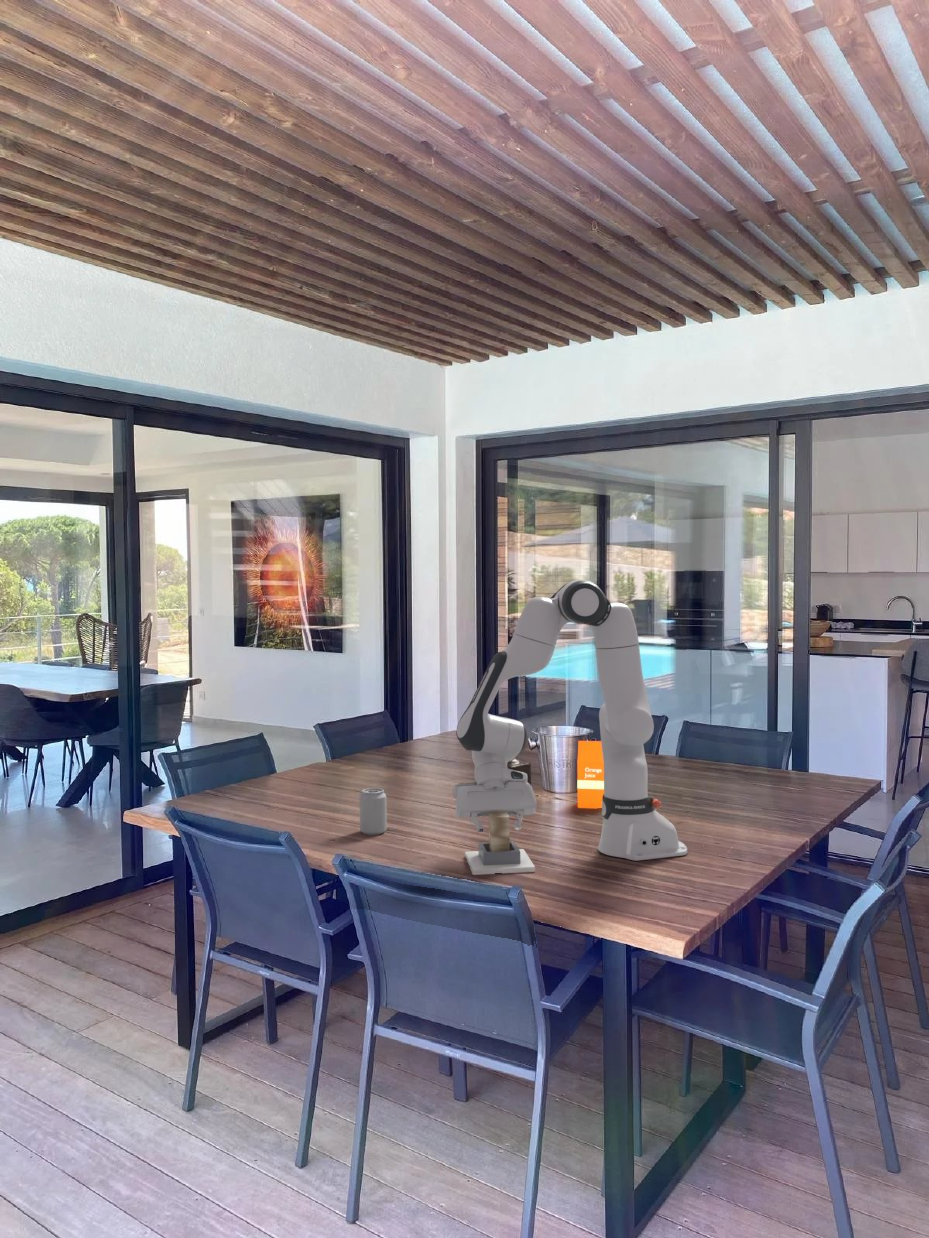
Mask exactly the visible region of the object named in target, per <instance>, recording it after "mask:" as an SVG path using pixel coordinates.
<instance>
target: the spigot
mask: <svg viewBox="0 0 929 1238" xmlns="http://www.w3.org/2000/svg"><path fill="white" fill-rule="evenodd" d="M510 841H511V840H510V816H509V815H508V814H507V812H501V813H489V817H488V842H489V852H493V851H510Z"/></svg>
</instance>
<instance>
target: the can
mask: <svg viewBox="0 0 929 1238" xmlns="http://www.w3.org/2000/svg"><path fill="white" fill-rule="evenodd" d="M387 809H388V807H387V794H386V793H385V790H384V789H383V788H380V787H369V788H364V789H362V790H361V794H360V795H359V831H360V832H361V833H362V834H363V833H364V834H363V835H365V834H368V835H367V836H379V834H380V835H382V834H381V833H383V832H384V833H385V832H386V831H387V829H388V816H387V815H388V811H387ZM384 833H383V834H384Z"/></svg>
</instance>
